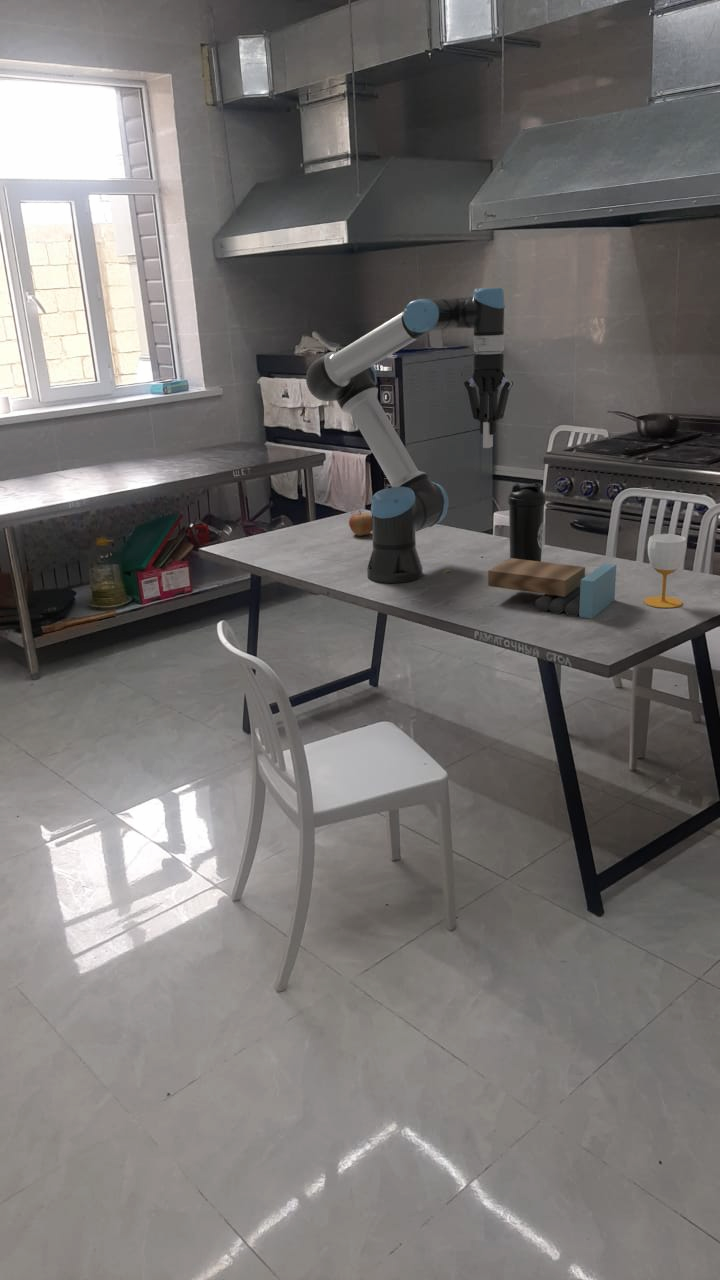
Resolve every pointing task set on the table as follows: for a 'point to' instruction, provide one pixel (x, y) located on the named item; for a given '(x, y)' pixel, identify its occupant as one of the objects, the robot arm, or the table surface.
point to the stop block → (597, 590)
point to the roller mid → (563, 601)
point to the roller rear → (544, 602)
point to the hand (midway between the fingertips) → (487, 447)
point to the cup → (665, 564)
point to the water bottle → (526, 521)
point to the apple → (361, 524)
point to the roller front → (573, 607)
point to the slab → (536, 576)
